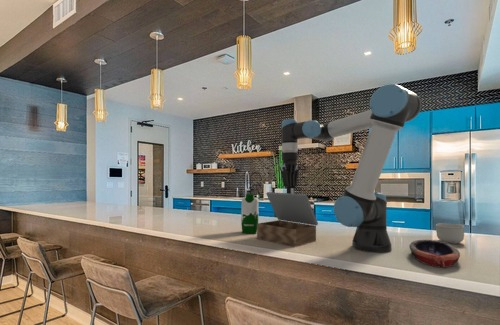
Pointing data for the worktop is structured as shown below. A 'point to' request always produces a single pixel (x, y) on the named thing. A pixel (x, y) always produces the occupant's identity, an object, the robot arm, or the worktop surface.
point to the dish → (435, 252)
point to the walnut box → (286, 232)
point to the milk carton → (249, 214)
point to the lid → (292, 207)
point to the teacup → (450, 233)
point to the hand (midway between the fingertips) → (290, 201)
